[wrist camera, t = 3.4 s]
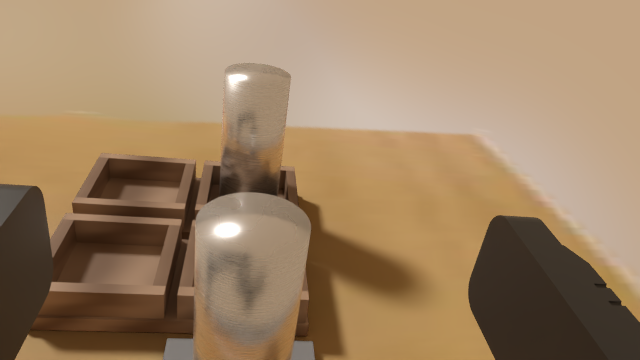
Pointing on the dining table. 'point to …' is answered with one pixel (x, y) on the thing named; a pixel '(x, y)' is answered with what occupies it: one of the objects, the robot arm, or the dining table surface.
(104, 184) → the tray
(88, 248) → the tray
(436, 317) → the dining table surface
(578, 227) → the dining table surface
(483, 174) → the dining table surface
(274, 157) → the cylinder
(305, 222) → the steel billet
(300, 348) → the rubber mat
